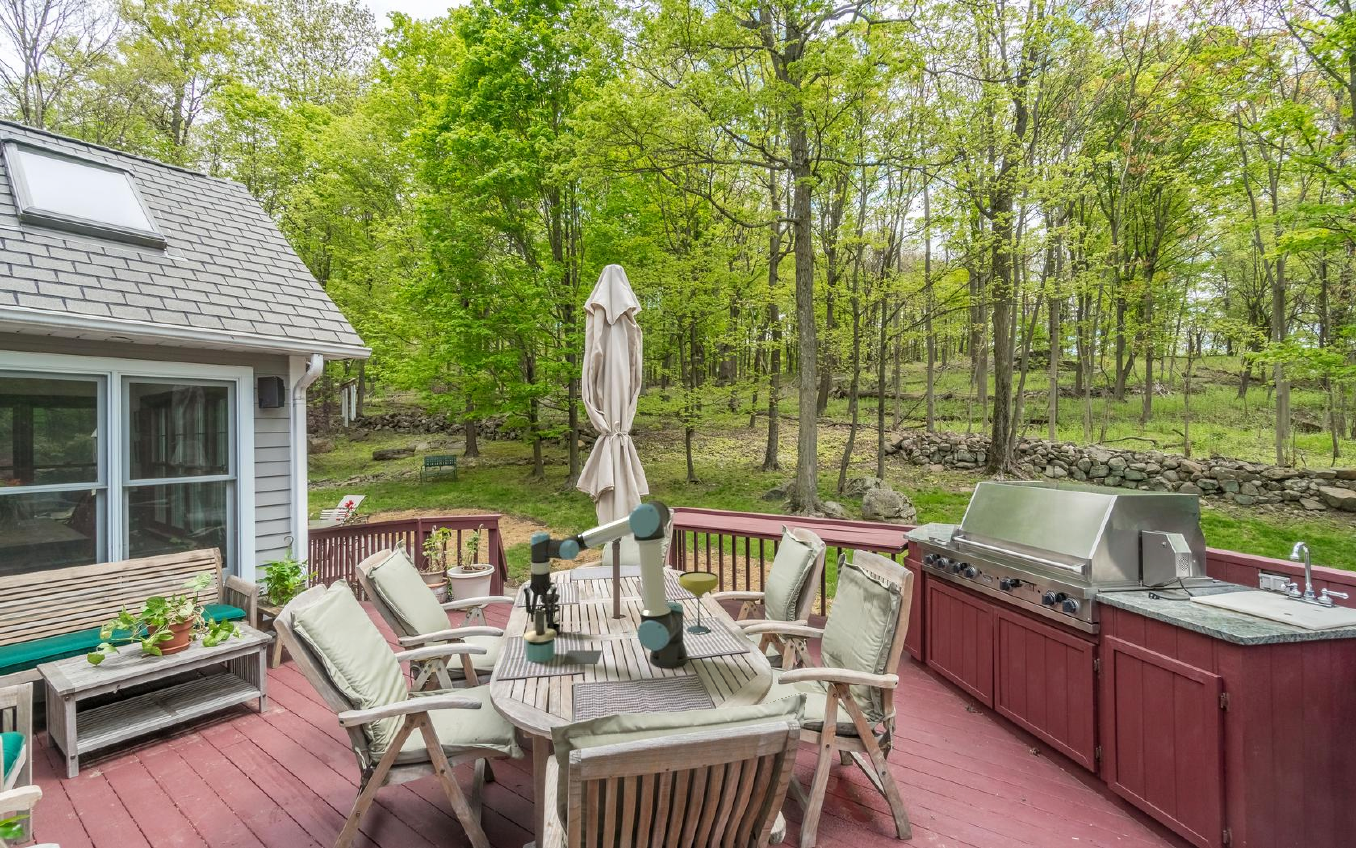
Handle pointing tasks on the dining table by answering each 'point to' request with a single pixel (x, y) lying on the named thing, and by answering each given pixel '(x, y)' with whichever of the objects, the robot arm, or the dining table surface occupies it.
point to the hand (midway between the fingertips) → (540, 629)
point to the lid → (540, 630)
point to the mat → (582, 657)
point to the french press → (553, 620)
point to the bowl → (540, 651)
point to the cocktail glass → (698, 590)
